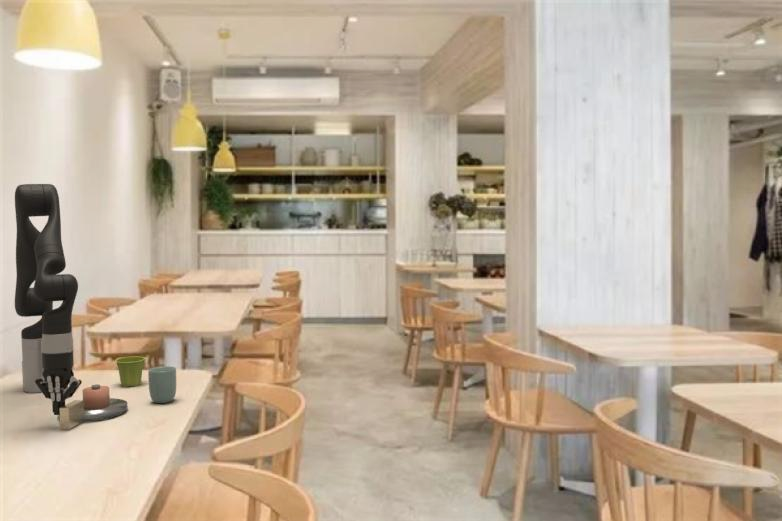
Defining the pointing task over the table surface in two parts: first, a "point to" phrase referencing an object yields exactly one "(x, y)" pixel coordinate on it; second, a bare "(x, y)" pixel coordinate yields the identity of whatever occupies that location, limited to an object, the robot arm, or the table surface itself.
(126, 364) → the plant pot
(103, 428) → the table surface
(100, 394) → the cap
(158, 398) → the cup
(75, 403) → the platter
